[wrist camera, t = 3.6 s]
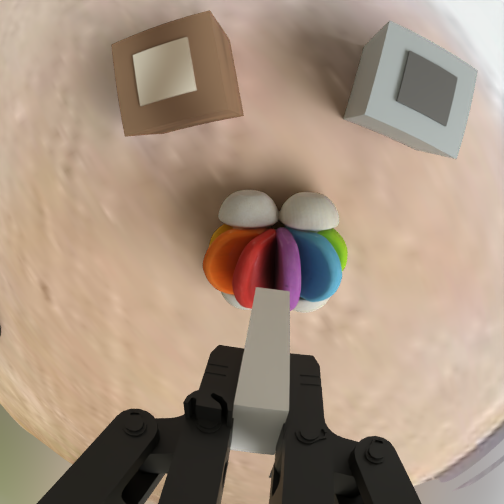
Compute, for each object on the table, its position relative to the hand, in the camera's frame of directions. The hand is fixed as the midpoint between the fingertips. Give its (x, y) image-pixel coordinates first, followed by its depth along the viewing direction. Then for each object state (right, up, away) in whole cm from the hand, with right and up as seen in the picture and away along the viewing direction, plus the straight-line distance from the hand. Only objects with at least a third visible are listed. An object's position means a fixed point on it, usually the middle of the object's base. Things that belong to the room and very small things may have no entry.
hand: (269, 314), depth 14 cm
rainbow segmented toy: (+1, +4, +9) cm, 10 cm away
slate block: (+9, +14, +4) cm, 17 cm away
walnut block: (-5, +15, +5) cm, 16 cm away
